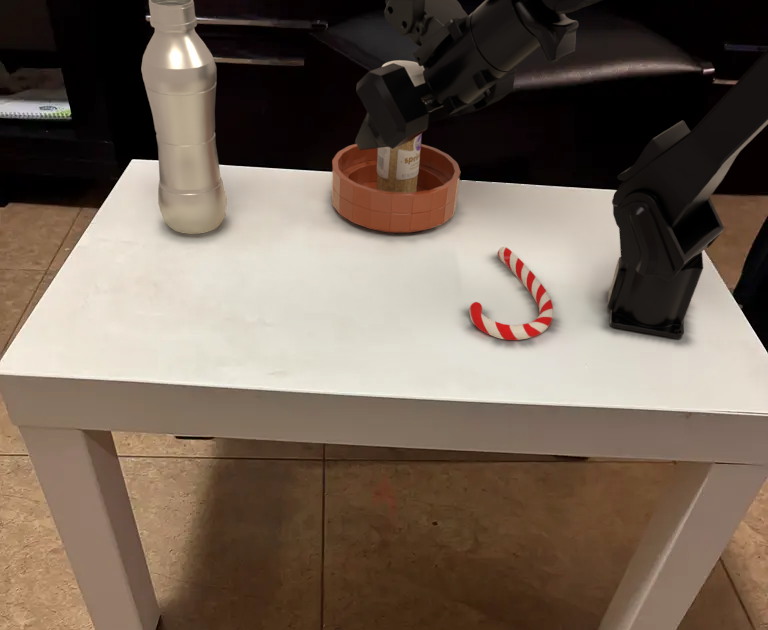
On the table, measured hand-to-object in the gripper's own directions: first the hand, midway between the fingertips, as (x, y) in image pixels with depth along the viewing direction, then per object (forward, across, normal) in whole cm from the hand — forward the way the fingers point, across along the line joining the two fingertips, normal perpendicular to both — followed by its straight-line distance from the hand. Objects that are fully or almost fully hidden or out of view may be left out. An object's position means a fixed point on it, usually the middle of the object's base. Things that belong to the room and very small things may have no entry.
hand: (387, 132), depth 84 cm
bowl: (+4, 0, +6) cm, 8 cm away
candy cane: (-9, +6, +20) cm, 22 cm away
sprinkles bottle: (+4, 0, +6) cm, 7 cm away
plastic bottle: (+12, +18, -2) cm, 22 cm away
